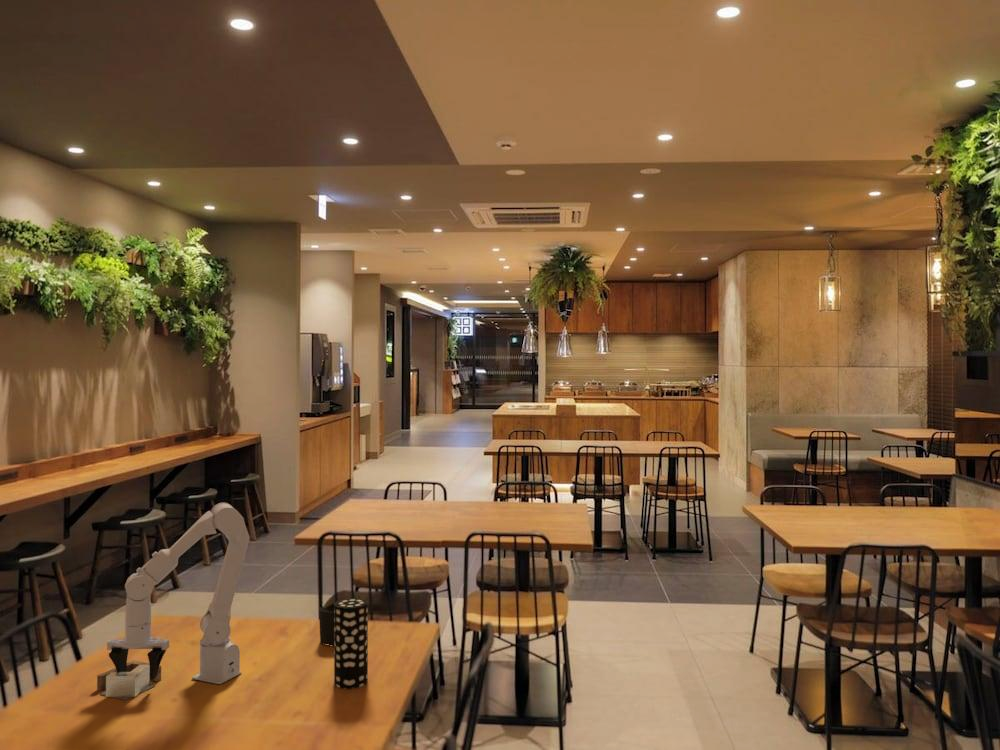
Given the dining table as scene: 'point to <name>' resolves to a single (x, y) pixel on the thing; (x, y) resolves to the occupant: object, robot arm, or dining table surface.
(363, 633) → the white-spotted black cylinder
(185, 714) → the dining table surface
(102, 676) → the corner jig
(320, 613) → the pen holder
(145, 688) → the L-shaped mat
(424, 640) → the dining table surface
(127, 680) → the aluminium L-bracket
